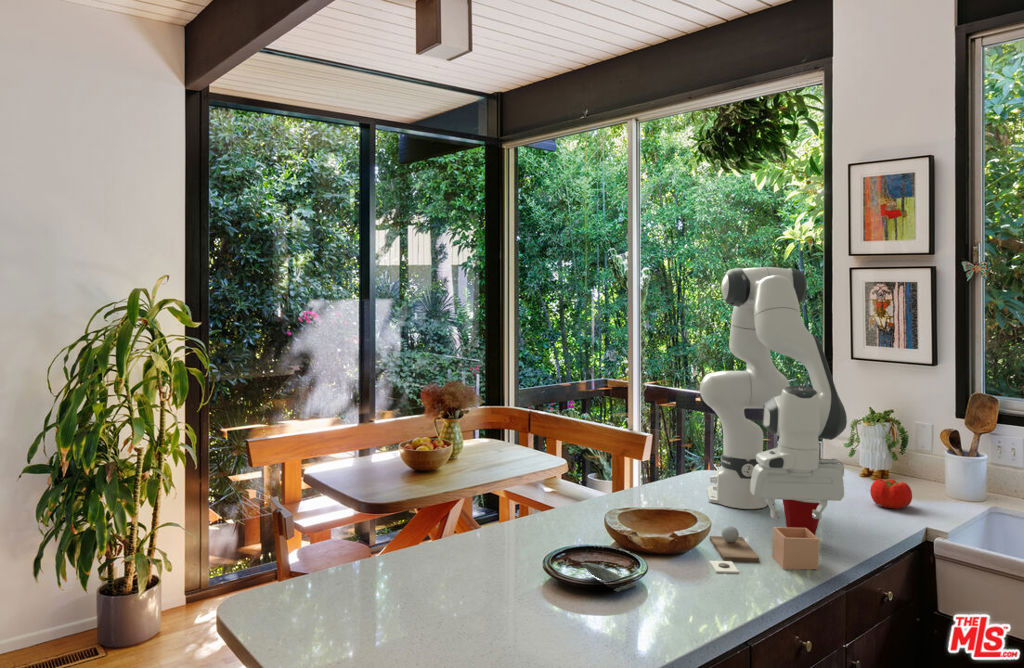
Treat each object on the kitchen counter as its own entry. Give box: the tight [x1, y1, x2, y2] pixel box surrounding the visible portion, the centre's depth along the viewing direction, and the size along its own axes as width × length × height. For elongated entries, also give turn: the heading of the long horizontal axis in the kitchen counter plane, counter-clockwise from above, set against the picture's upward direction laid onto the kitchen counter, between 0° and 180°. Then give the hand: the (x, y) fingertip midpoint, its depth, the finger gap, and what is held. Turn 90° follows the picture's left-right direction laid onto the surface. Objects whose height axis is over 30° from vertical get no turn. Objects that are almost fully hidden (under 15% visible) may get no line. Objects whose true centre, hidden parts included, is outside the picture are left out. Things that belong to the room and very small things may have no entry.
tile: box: [709, 560, 740, 574], centre depth 160 cm, size 6×5×1 cm
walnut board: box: [709, 535, 760, 563], centre depth 171 cm, size 14×8×1 cm, turn 178°
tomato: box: [869, 478, 913, 510], centre depth 208 cm, size 11×11×8 cm
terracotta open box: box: [771, 526, 820, 571], centre depth 163 cm, size 8×8×7 cm
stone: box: [580, 562, 637, 593], centre depth 151 cm, size 11×4×10 cm
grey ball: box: [721, 525, 740, 543], centre depth 173 cm, size 4×4×4 cm
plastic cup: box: [781, 499, 820, 536], centre depth 178 cm, size 11×11×12 cm
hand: (795, 518), depth 163 cm, fingers open, 8 cm apart
